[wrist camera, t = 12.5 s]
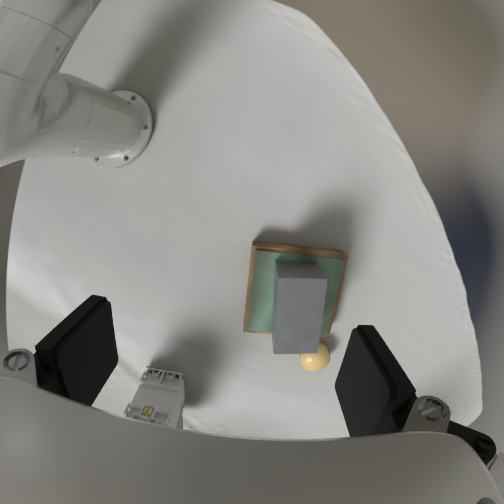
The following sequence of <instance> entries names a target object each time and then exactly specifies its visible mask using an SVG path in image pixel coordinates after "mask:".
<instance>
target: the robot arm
mask: <svg viewBox="0 0 504 504" xmlns="http://www.w3.org/2000/svg"><path fill="white" fill-rule="evenodd" d="M91 11H92V0H0V167H2V166H4V165H7V164H9V163H12V162H15V161H18V160H21V159H27V158H35V157H89V158H90V159H91V160H92V161H93V162H95V163H96V164H98V165H100V166H102V167H107V168H117V167H121V166H124V165H127V164H129V163H130V162H132V161H133V160H135V159H136V158H137V157H138V156H139V155H140V154H141V153H142V151H143V150H144V149H145V147H146V145H147V144H148V142H149V139H150V136H151V133H152V127H153V118H152V113H151V110H150V108H149V105H148V104H147V103H146V101H145V100H144V99H143V98H142V97H141V96H139V95H138V94H136V93H134V92H131V91H126V90H120V91H114V92H109V91H107V90H105V89H102V88H100V87H98V86H96V85H94V84H92V83H89V82H87V81H85V80H83V79H80V78H78V77H76V76H73V75H70V74H66V73H54V71H55V69H56V68H57V66H58V64H59V63H60V61H61V59H62V58H63V56H64V55H65V53H66V52H67V50H68V49H69V47H70V46H71V44H72V43H73V41H74V40H75V38H76V37H77V36H78V34H79V33H80V31H81V30H82V28H83V27H84V25H85V24H86V22H87V21H88V19H89V17H90V14H91ZM53 73H54V74H53ZM135 98H136V99H135ZM134 99H135V100H134ZM147 126H148V129H146V127H147ZM128 157H129V159H127V158H128ZM98 158H99V159H98ZM35 349H36V353H35V354H34V355H33V354H32V352H31V351H29V350H27V349H14V350H11V351H8V352H7V353H5V354H4V355H3V356H2V358H1V359H0V504H504V454H503V453H502V452H499V454H496V446H495V443H494V442H493V440H492V439H491V438H490V437H489V436H487V435H486V434H483V433H481V432H478V431H476V430H473V429H470V428H468V427H465V426H463V425H460V424H458V423H455V422H453V421H450V409H449V407H448V406H447V404H446V403H445V402H443V401H442V400H441V399H439V398H436V397H433V396H422V397H419V398H417V396H416V395H415V392H416V389H415V388H414V386H413V385H412V383H411V381H410V380H409V378H408V377H407V375H406V374H405V372H404V371H403V369H402V368H401V366H400V364H399V363H398V361H397V360H396V358H395V357H394V355H393V354H392V352H391V351H390V349H389V348H388V346H387V345H386V343H385V342H384V340H383V339H382V338H381V336H380V335H379V333H378V332H377V330H376V329H375V327H374V326H373V325H358V326H357V328H354V329H353V330H352V333H351V336H350V339H349V343H348V346H347V349H346V352H345V355H344V358H343V361H342V364H341V367H340V370H339V373H338V376H337V379H336V382H335V390H336V393H337V396H338V400H339V403H340V406H341V409H342V412H343V415H344V418H345V422H346V425H347V428H348V431H349V435H350V437H345V438H326V439H270V438H252V437H239V436H228V435H219V434H211V433H204V432H197V431H191V430H185V429H179V428H173V427H168V426H163V425H159V424H154V423H149V422H145V421H141V420H137V419H133V418H129V417H125V416H121V415H118V414H114V413H111V412H107V411H104V410H101V409H98V408H94V407H91V406H92V404H93V402H94V401H95V399H96V397H97V396H98V394H99V393H100V391H101V389H102V388H103V386H104V384H105V383H106V381H107V380H108V378H109V377H110V375H111V373H112V372H113V370H114V369H115V367H116V365H117V363H118V353H117V347H116V340H115V333H114V326H113V318H112V309H111V303H110V302H109V301H107V298H106V297H102V296H97V295H91V296H90V297H89V298H88V299H87V300H85V301H84V302H83V303H82V304H81V305H80V306H78V307H77V308H76V309H75V310H74V311H73V312H72V313H71V314H69V315H68V316H67V317H66V318H65V319H64V320H63V321H62V322H60V323H59V324H58V325H57V326H56V327H55V328H54V329H53V330H52V331H51V332H50V333H48V334H47V335H46V336H45V337H44V338H43V339H42V340H41V341H40V342H39V343H38V344H37V345H36V346H35Z"/></svg>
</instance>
